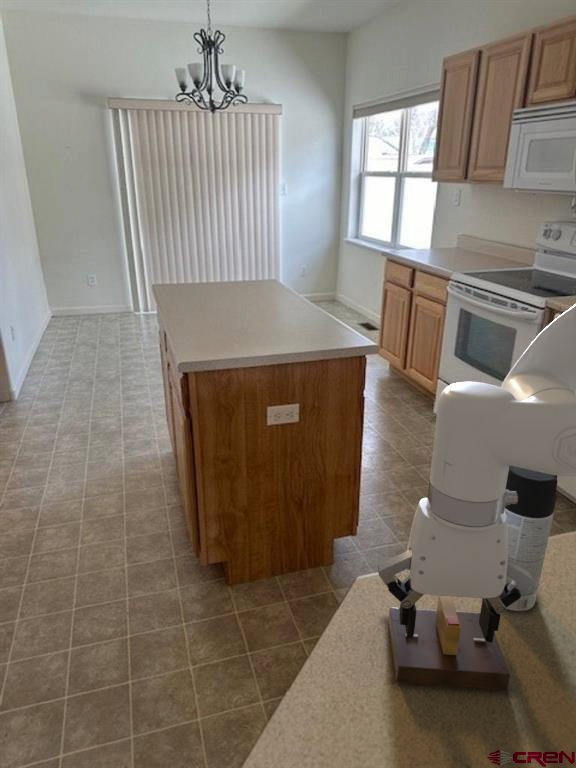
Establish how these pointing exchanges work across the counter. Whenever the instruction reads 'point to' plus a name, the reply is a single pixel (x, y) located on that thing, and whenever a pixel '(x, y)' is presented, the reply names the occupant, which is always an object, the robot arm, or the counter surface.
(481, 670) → the plate
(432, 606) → the counter surface
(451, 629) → the block
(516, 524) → the spray can
